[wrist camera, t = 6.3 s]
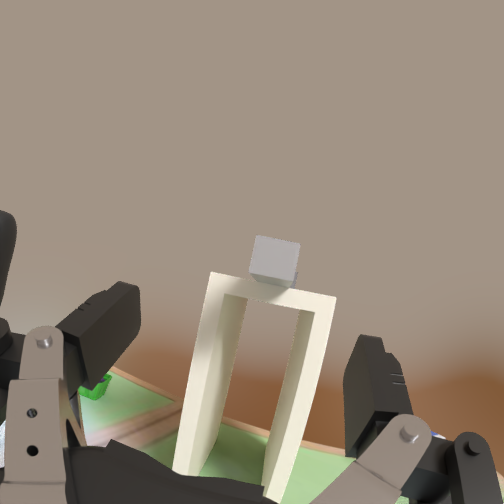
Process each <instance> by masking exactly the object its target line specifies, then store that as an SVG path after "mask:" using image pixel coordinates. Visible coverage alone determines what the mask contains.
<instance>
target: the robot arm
mask: <svg viewBox="0 0 504 504" xmlns="http://www.w3.org/2000/svg"><path fill="white" fill-rule="evenodd" d="M16 234H17V226H16V221H15V219H14V217H13V216H12V215H11V214H9V213H7V212H5V211H1V210H0V305H1V302H2V299H3V295H4V290H5V285H6V280H7V275H8V271H9V267H10V263H11V259H12V256H13V252H14V247H15V242H16ZM140 326H141V311H140V290H139V288H138V286H136V285H132V284H128V283H125V282H121V281H118V282H117V283H116V284H114V285H113V286H112V287H111V288H110V289H108V290H107V291H106V290H104V291H101V292H99V293H96V294H94V295H92V296H91V297H90V298H89V299H87V300H86V301H85V303H84V304H81V305H80V306H79V307H78V309H75V310H74V311H73V312H72V313H71V314H69V315H68V316H67V317H66V318H65V319H64V320H62V321H61V322H60V323H59V324H58V325H56V326H55V327H52V326H41V327H37V328H35V329H33V330H31V331H30V332H29V333H28V334H27V335H22V334H17V333H12V332H11V331H10V328H9V324H8V322H7V321H6V320H5V319H3V318H0V426H1V424H2V423H3V422H4V421H5V419H6V424H5V452H4V464H5V467H2V468H0V504H279V503H277V502H275V501H273V500H271V499H269V498H267V497H264V496H263V492H264V487H265V486H260V485H255V484H250V483H245V482H240V481H236V480H232V479H227V478H218V477H200V476H188V475H181V474H178V473H176V472H175V471H173V470H171V469H170V468H168V467H166V466H165V465H163V464H161V463H160V462H158V461H157V460H155V459H153V458H152V457H150V456H149V455H147V454H146V453H144V452H141V451H139V450H136V449H134V448H131V447H129V446H126V445H124V444H122V443H119V442H117V441H115V440H112V439H111V440H110V442H109V443H108V445H107V446H106V447H98V446H87V443H86V439H85V434H84V428H83V420H82V412H81V403H80V395H79V391H78V388H79V387H80V386H82V387H84V388H86V389H88V390H91V391H93V389H94V388H95V387H96V386H97V384H98V383H99V382H100V381H101V379H102V378H103V377H104V376H105V374H106V373H107V372H108V371H109V369H110V368H111V367H112V366H113V364H114V363H115V362H116V361H117V359H118V358H119V357H120V356H121V355H122V353H123V352H124V351H125V350H126V348H127V347H128V346H129V345H130V344H131V342H132V341H133V340H134V339H135V337H136V336H137V335H138V332H139V330H140ZM402 375H403V373H402V369H401V366H400V363H399V362H398V361H397V359H396V358H395V357H394V356H393V354H392V353H386V352H385V349H384V345H383V342H382V339H381V338H380V337H374V336H367V335H362V334H361V335H360V336H359V337H358V340H357V342H356V344H355V347H354V349H353V352H352V354H351V357H350V359H349V362H348V364H347V367H346V369H345V373H344V378H343V394H344V417H345V457H356V461H353V462H352V463H351V464H350V465H349V466H348V467H347V468H346V469H345V470H344V471H343V472H342V473H341V474H340V475H339V476H338V477H337V478H336V479H335V480H334V481H333V482H332V483H331V484H330V485H329V486H328V487H327V488H326V489H325V490H324V491H323V492H322V493H321V494H319V495H318V496H317V497H316V498H315V499H314V500H313V501H312V502H311V503H309V504H395V502H396V501H397V499H398V498H399V497H400V496H404V497H407V498H409V504H503V500H502V495H501V491H500V486H499V482H498V477H497V473H496V469H495V466H494V462H493V458H492V455H491V451H490V448H489V445H488V443H487V442H486V440H485V439H484V438H483V437H481V436H480V435H478V434H476V433H473V432H464V433H462V434H460V435H459V436H458V437H457V438H456V439H455V440H454V441H453V442H452V441H448V440H445V439H442V438H438V437H435V436H432V434H431V430H430V428H429V426H428V425H427V424H426V423H425V422H424V421H423V420H422V419H420V418H419V417H417V416H414V415H413V411H412V407H411V403H410V399H409V395H408V392H407V387H406V385H405V381H404V377H403V376H402Z"/></svg>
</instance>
